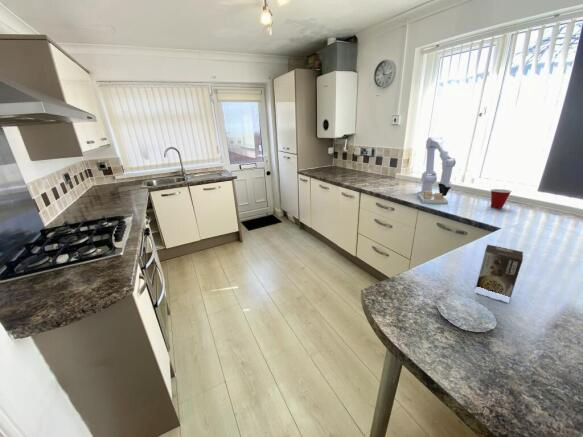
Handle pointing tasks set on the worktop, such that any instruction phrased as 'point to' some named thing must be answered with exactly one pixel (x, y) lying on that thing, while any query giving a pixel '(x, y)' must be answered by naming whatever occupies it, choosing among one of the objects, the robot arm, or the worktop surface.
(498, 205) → the plastic cup
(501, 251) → the coffee box
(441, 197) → the terracotta block
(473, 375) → the worktop surface
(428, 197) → the oak block
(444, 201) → the grey tray
